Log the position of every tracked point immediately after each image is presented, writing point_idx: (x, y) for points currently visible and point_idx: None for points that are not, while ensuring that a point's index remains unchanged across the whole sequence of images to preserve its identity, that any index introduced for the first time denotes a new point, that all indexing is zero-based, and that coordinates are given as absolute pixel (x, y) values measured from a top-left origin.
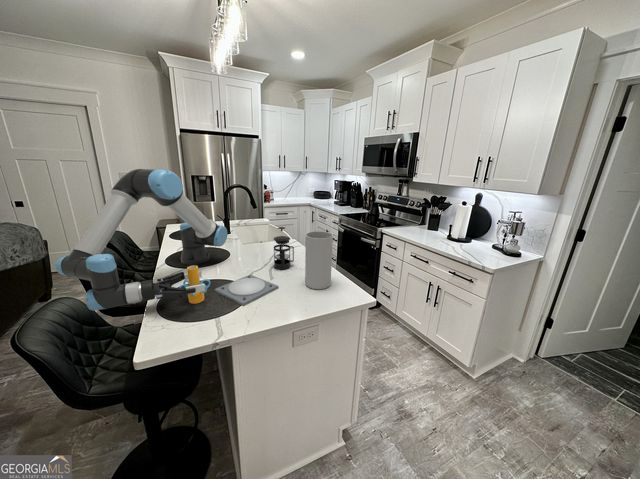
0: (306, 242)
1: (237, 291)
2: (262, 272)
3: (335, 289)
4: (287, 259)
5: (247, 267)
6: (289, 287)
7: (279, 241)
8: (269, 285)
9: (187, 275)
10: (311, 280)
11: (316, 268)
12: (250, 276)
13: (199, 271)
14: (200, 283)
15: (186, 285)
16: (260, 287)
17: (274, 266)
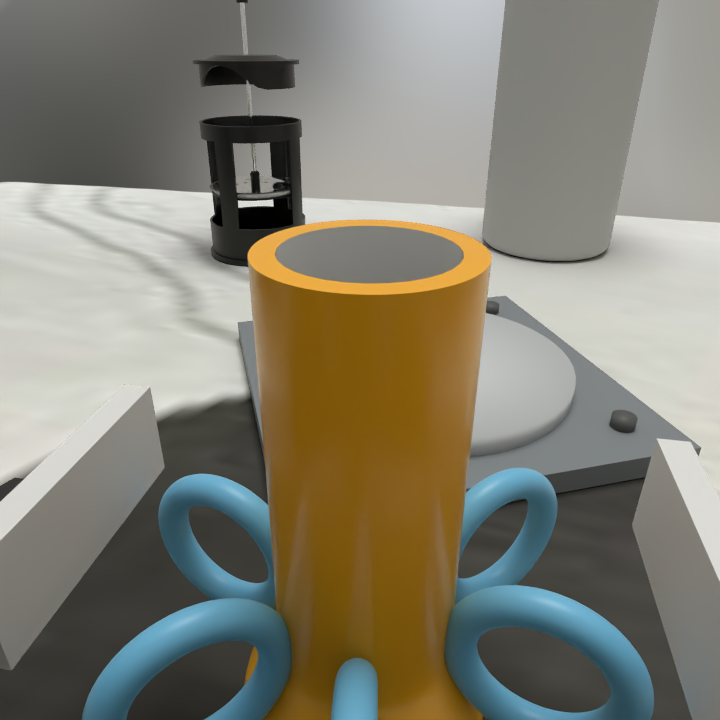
0: None
1: (501, 412)
2: (241, 298)
3: (621, 236)
4: (254, 207)
5: (86, 315)
6: (521, 290)
7: (273, 69)
8: (492, 307)
9: (23, 551)
10: (593, 214)
11: (623, 138)
12: None
13: (113, 395)
14: (484, 494)
15: (375, 695)
16: (509, 329)
17: (239, 255)
